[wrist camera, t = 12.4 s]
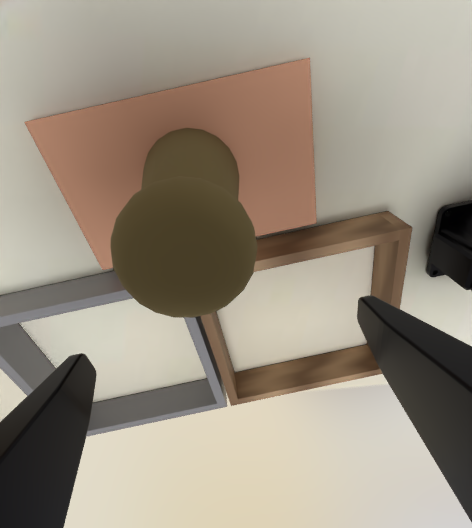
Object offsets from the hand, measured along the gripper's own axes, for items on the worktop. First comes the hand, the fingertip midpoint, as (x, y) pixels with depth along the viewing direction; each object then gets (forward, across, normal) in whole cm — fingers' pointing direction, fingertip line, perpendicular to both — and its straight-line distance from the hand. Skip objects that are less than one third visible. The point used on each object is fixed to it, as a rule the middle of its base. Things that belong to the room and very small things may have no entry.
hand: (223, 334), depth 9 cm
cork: (+12, +1, -2) cm, 12 cm away
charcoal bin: (+13, +11, +12) cm, 20 cm away
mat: (+13, +1, -2) cm, 13 cm away
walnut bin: (+13, -5, +12) cm, 18 cm away
